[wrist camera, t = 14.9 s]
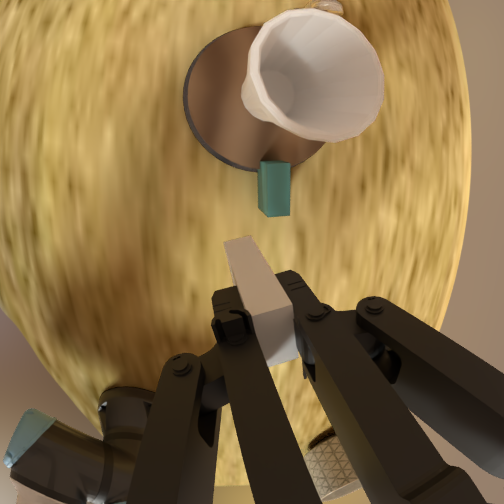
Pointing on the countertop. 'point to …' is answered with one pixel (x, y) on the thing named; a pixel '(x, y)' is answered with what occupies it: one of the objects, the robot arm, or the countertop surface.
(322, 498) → the planter
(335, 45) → the cup
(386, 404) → the robot arm
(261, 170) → the brown and teal disc
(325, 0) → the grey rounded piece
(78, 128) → the countertop surface
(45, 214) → the countertop surface
